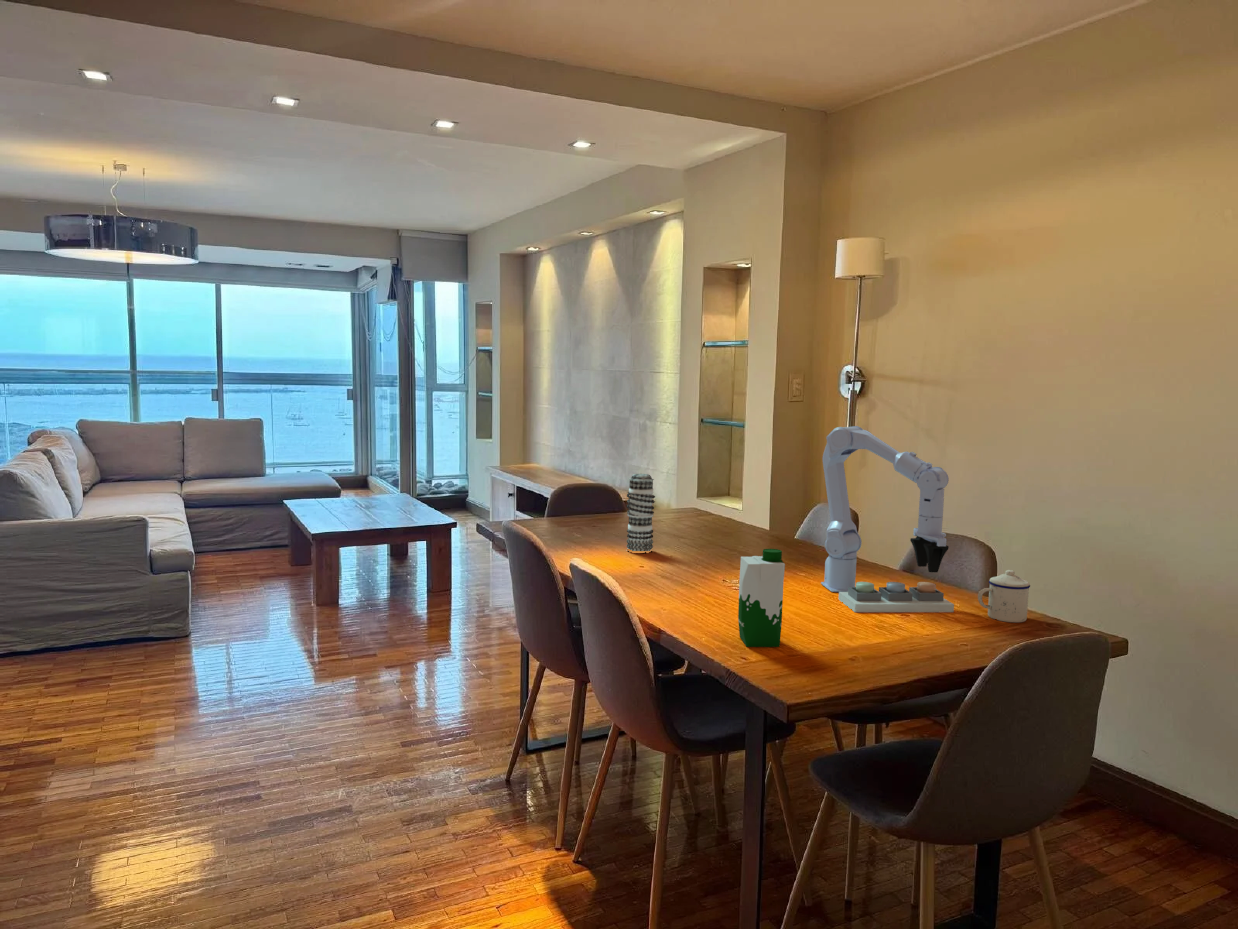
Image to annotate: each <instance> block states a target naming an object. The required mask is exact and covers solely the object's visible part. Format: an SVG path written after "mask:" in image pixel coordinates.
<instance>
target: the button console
mask: <svg viewBox="0 0 1238 929" xmlns="http://www.w3.org/2000/svg"><path fill="white" fill-rule="evenodd" d="M886 588H887V586H879V587H878V590H877V589H875V588H874V593H858V592H857V591H856V586H855V587H848V592H838V600H839V601H840V602H841V603H842V602H843V603H842V604H844V605H845V606H846V607H847V606H848V608H849V609H850V610H851V609H852V611H853V612H854V613H954V612H955V604H954V603H953V602H951V601H949V600H948V599H945V598H944V595H945V592H943V591H941V590H939V589H937V588H936V592H935V593H920V592H919V591H917V586H909V588H908V589H906V588H905V593H889V592H888V591H886Z"/></svg>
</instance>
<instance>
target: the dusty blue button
mask: <svg viewBox="0 0 1238 929" xmlns="http://www.w3.org/2000/svg"><path fill="white" fill-rule="evenodd" d="M886 587H887V588H886V591H888V592H889V593H905V589H906V584H905V583H904V582H898V581H887V582H886Z"/></svg>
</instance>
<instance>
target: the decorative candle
mask: <svg viewBox="0 0 1238 929" xmlns="http://www.w3.org/2000/svg"><path fill="white" fill-rule="evenodd" d="M628 480H629V488H628V491H627V494H626V498H628V499H627V500H626V503H627V504H626V508H627V509H628V510H627V513H626V515H627V517H628V524H627V530H626V532H627V534H626V537H627V539H626V543H627V544H626V548H627V549H630V550H632V551H650V550H651V549H652V550H653V547H654V545H653V543H654V540H653V538H654V534H653V533H654V529H653V523H652V522H653V517H654V514H655V511H654V509H655V506H653V504H654V503H655V502H656V501H655V500H654V499H655V498H656V496H655V495H654V488H653V487H654V483H653V482H654V480H655V479H654V478H652V476H651V475H650V474H648V473H634V474H632V475H631V477H630V478H628Z"/></svg>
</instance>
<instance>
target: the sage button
mask: <svg viewBox="0 0 1238 929" xmlns="http://www.w3.org/2000/svg"><path fill="white" fill-rule="evenodd" d="M855 587H856V591H857V592H858V593H874V589H875V584H874V583H873V582H868V581H857V582H855Z"/></svg>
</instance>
